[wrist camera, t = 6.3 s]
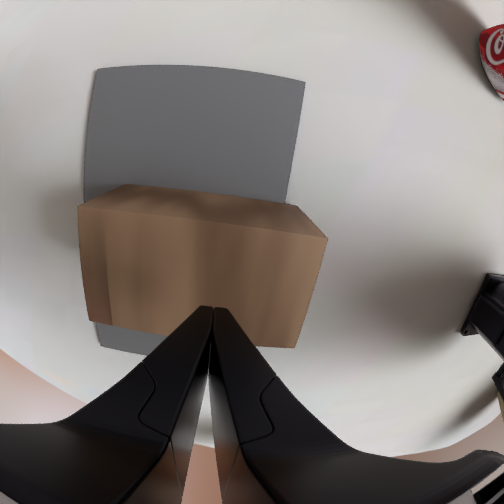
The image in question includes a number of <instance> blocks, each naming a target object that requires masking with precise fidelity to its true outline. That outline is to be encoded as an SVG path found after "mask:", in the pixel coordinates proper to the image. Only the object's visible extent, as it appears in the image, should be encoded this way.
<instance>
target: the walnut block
mask: <svg viewBox="0 0 504 504" xmlns="http://www.w3.org/2000/svg"><path fill="white" fill-rule="evenodd" d="M78 232H79V248H80V260H81V270H82V278H83V286H84V293H85V299H86V306H87V311H88V317H89V320H90V321H94V322H98V323H103V324H107V325H112V326H116V327H121V328H126V329H131V330H137V331H142V332H148V333H153V334H159V335H166V336H169V335H170V334H171V333H172V332H173V331H174V330H175V329H176V328H177V327H178V326H179V325H180V324H181V323H182V322H183V321H184V320H185V319H187V318H188V317H189V316H190V315H191V314H192V313H193V312H194V311H195V310H196V309H197V308H198V307H199V306H201V305H204V306H212V307H213V308H215V307H222V308H227V309H229V311H230V312H231V314H232V315H233V317H234V318H235V319H236V321H237V322H238V323H239V325H240V326H241V328H242V329H243V330H244V332H245V333H246V335H247V336H248V337H249V339H250V340H251V341H252V343H253V344H254V345H255V346H263V347H280V348H295V346H296V343H297V340H298V337H299V334H300V331H301V328H302V325H303V322H304V319H305V316H306V313H307V309H308V306H309V303H310V300H311V297H312V293H313V290H314V287H315V283H316V280H317V277H318V273H319V270H320V266H321V263H322V259H323V255H324V252H325V248H326V244H327V241H328V238H327V237H326V236H325V235H324V234H323V232H322V231H321V230H320V229H319V228H318V227H317V226H316V225H315V224H314V223H313V222H312V221H311V220H310V219H309V218H308V217H307V216H306V215H305V214H304V213H303V212H302V211H301V210H300V208H299V207H298V206H295V205H289V204H283V203H277V202H271V201H265V200H258V199H252V198H245V197H238V196H231V195H224V194H216V193H208V192H200V191H192V190H183V189H174V188H165V187H155V186H144V185H133V184H124V185H122V186H120V187H117V188H115V189H113V190H111V191H109V192H106V193H104V194H102V195H100V196H98V197H96V198H94V199H92V200H90V201H88V202H86V203H84V204H82V205H80V206H78ZM213 313H214V311H213Z"/></svg>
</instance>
